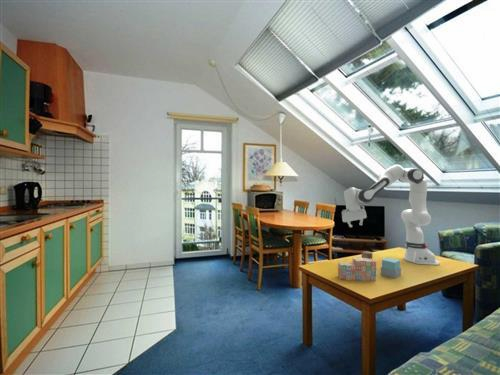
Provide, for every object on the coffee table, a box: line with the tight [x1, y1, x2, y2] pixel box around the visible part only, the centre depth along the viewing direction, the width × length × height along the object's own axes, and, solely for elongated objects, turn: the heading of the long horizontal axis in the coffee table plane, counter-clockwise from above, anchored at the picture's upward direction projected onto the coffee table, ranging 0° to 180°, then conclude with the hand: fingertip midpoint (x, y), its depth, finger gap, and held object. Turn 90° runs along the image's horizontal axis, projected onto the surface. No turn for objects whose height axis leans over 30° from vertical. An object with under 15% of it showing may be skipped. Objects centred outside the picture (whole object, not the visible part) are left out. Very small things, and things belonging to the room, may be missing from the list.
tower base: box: [380, 266, 402, 279], centre depth 165 cm, size 9×9×5 cm
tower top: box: [381, 257, 401, 271], centre depth 164 cm, size 8×8×5 cm
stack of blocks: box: [337, 257, 377, 282], centre depth 158 cm, size 21×6×12 cm, turn 86°
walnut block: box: [361, 250, 373, 259], centre depth 181 cm, size 5×5×10 cm
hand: (356, 226), depth 193 cm, fingers open, 8 cm apart
